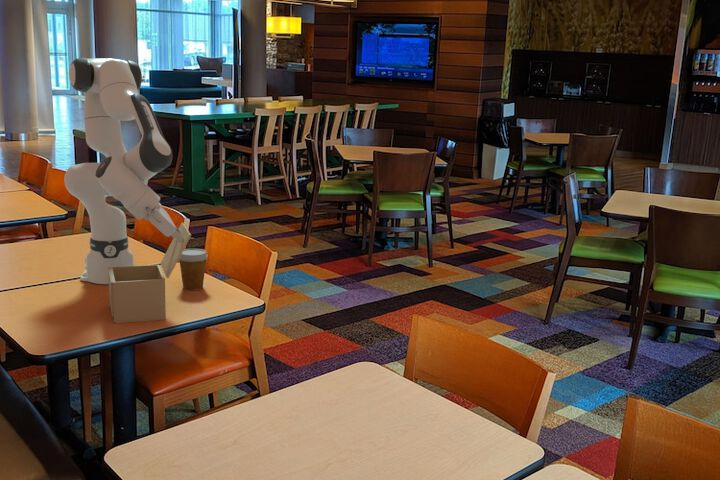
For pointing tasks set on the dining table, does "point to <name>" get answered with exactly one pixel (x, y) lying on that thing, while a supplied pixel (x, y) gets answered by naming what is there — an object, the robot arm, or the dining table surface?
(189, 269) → the disposable coffee cup
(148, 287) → the carton
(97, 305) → the dining table surface
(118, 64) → the robot arm
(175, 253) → the lid flap
